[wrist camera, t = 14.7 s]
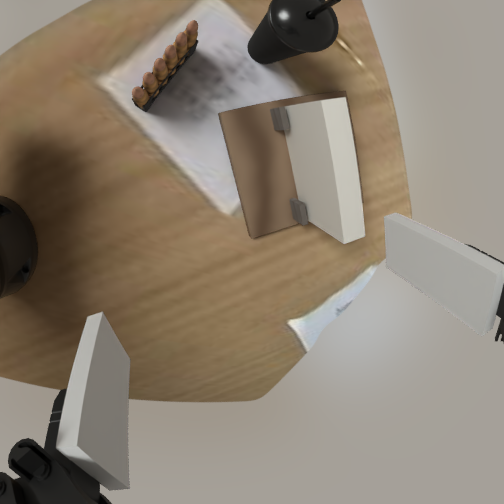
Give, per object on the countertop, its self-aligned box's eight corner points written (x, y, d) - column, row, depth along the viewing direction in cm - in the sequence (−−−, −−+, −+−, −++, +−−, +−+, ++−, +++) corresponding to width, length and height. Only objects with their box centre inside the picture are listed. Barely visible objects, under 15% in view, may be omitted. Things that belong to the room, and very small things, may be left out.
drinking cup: (228, 59, 35) (280, 5, 17) (250, 17, 33) (312, -50, 16) (277, 82, 38) (360, 53, 20) (297, 40, 36) (383, -3, 18)
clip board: (249, 235, 45) (258, 247, 41) (217, 113, 38) (224, 110, 33) (358, 200, 48) (376, 208, 44) (340, 91, 41) (358, 88, 36)
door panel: (301, 216, 45) (343, 244, 34) (279, 107, 38) (320, 100, 27) (319, 210, 45) (365, 236, 35) (299, 104, 39) (345, 97, 28)
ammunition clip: (184, 43, 33) (192, 10, 22) (195, 50, 34) (207, 19, 23) (134, 105, 34) (122, 92, 24) (145, 112, 35) (137, 102, 25)
